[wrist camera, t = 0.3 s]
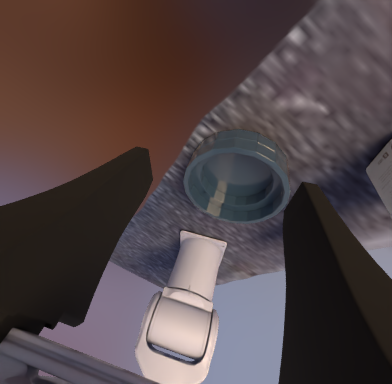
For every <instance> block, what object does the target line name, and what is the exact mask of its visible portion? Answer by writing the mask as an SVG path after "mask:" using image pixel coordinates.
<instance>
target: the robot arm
mask: <svg viewBox="0 0 392 384" xmlns="http://www.w3.org/2000/svg"><path fill="white" fill-rule="evenodd" d="M152 181H153V177H152V170H151V164H150V157H149V151H148V149H146V148H141V147H135V148H133V149H131V150H129V151H127V152H125V153H124V154H122V155H120V156H118V157H117V158H115V159H113V160H111V161H109V162H107V163H105V164H104V165H102V166H100V167H98V168H96V169H94V170H92V171H90V172H88V173H86V174H84V175H82V176H80V177H78V178H76V179H74V180H72V181H70V182H67V183H65V184H63V185H60V186H58V187H55V188H53V189H50V190H48V191H45V192H43V193H39V194H37V195H34V196H31V197H28V198H25V199H22V200H19V201H16V202H13V203H10V204H6V205H3V206H0V384H200V383H201V382H203V381H204V379H205V377H206V376H207V374H208V371H209V366H210V361H211V358H212V355H213V352H214V348H215V344H216V339H217V333H218V325H219V317H218V315H217V312H216V310H214V309H212V308H213V303H212V297H213V292H214V287H215V282H216V277H217V272H218V267H219V266H220V263H221V260H222V257H223V254H224V251H225V248H226V246H227V243H226V242H224V241H220V240H217V239H213V238H209V237H206V236H202V235H198V234H195V233H191V232H187V231H183V230H182V231H181V232H180V251H179V254H178V257H177V259H176V262H175V265H174V268H173V271H172V273H171V276H170V279H169V282H168V285H167V287H164V290H163V292H161V291H159V292H158V293H156V294H154V295H153V297H152V299H151V301H150V303H149V305H148V307H147V310H146V313H145V315H144V318H143V321H142V324H141V328H140V334H139V337H138V340H137V342H136V345H135V356H136V359H137V362H138V364H139V366H140V368H141V371H142V373H143V375H144V377H142V376H140V375H137V374H135V373H132V372H130V371H127V370H125V369H122V368H120V367H117V366H114V365H112V364H110V363H107V362H104V361H102V360H99V359H97V358H94V357H92V356H89V355H87V354H84V353H81V352H79V351H77V350H74V349H71V348H69V347H66V346H64V345H61V344H59V343H56V342H54V341H51V340H49V339H46V338H44V337H41V336H39V333H40V332H41V331H42V329H43V327H47V328H49V329H52V330H53V329H54V328H55V326H56V325H57V323H58V322H61V323H64V324H67V325H70V326H72V327H76V326H78V325H80V324H81V323H83V322H84V319H85V317H86V314H87V311H88V309H89V306H90V303H91V301H92V298H93V296H94V293H95V291H96V288H97V286H98V284H99V281H100V279H101V277H102V274H103V272H104V270H105V268H106V265H107V263H108V261H109V259H110V257H111V255H112V253H113V251H114V249H115V247H116V245H117V242H118V240H119V238H120V237H121V235H122V233H123V231H124V230H125V228H126V227H127V225H128V223H129V222H130V220H131V219H132V217H133V216H134V214H135V212H136V211H137V209H138V208H139V206H140V204H141V203H142V201H143V200H144V198H145V196H146V194H147V192H148V190H149V188H150V185H151V183H152ZM283 243H284V257H285V271H286V303H285V322H284V336H283V348H282V359H281V367H280V376H279V384H392V279H391V278H390V277H389V276H388V275H387V274H386V273H385V271H384V270H383V269H382V268H381V267H380V266H379V265H378V264H377V263H376V262H375V260H374V259H373V258H372V257H371V256H370V255H369V253H368V252H367V251H366V250H365V249H364V247H363V246H362V245H361V244H360V242H359V241H358V240H357V239H356V237H355V236H354V235H353V234H352V232H351V231H350V230H349V228H348V227H347V226H346V224H345V223H344V222H343V220H342V219H341V218H340V216H339V215H338V213H337V212H336V211H335V209H334V208H333V206H332V205H331V203H330V202H329V201H328V199H327V198H326V196H325V195H324V193H323V192H322V191H321V189H320V188H319V187H318V185H316V184H311V183H306V182H302V183H301V185H300V186H299V188H298V189H297V191H296V193H295V194H294V196H293V197H292V199H291V201H290V202H289V204H288V205H287V207H286V208H285V210H284V219H283ZM152 344H153V345H157V346H159V347H162V348H164V349H167V350H170V351H172V352H175V353H178V354H181V355H183V356H186V357H189V358H192V359H194V360H195V361H192V362H191V361H185V360H183V359H180V358H177V357H175V356H172V355H169V354H166V353H164V352H161V351H159V350H156V349H155V348H154V347H153V346H152ZM39 370H41V371H44V372H46V373H48V374H51V375H53V376H56V377H58V378H56V377H49V376H39V375H38V372H39Z"/></svg>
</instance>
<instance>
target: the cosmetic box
mask: <svg viewBox="0 0 392 384" xmlns="http://www.w3.org/2000/svg"><path fill="white" fill-rule="evenodd" d="M366 173H367V174H368V176H369V178H370V180H371V182H372V184H373V185H374V187H375V189H376V191H377V193H378V194H379V196H380V198H381V200H382V201H383V203H384V205H385V207H386V209H387V210H388V212H389V214H390V216H391V218H392V139H391V140H390V141H389V142H388V143H387V144H386V145H385V147H384V148H383V149H382V150H381V151H380V153H379V154H378V155H377V156H376V157H375V158H374V160H373V161H372V162H371V163H370V165H369V166H368V167H367V168H366Z"/></svg>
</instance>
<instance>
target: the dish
mask: <svg viewBox="0 0 392 384" xmlns="http://www.w3.org/2000/svg"><path fill="white" fill-rule="evenodd" d="M183 183H184V187H185V192H186V194H187V196H188V197H189V199H190V200H191V202H192V203H193V204H194V205H195V206H196V207H197V208H198V209H200V210H201V211H202V212H203V213H205V214H207V215H209V216H211V217H213V218H215V219H217V220H221V221H225V222H229V223H235V224H251V223H257V222H263V221H265V220H267V219H269V218H271V217H274V216H276V215H277V214H278V213H279V212H280V211H281V210H282V209H283V208H284V207H285V206H286V205H287V202H288V199H289V196H290V193H291V187H290V174H289V167H288V163H287V158H286V155H285V154H284V153H283V152H282V150H281V149H280V148H279V147H278V145H277V144H276V143H275V142H274V141H272V140H270V139H268V138H267V137H265V136H263V135H261V134H260V133H257V132H252V131H246V130H241V129H236V130H228V131H221V132H218V133H216V134H214V135H212V136H210V137H208V138H206V139H204V140H203V141H202V143H201V144H200V145H199V146H198V147H197V149H196V150H195V151H194V153H193V155H192V157H191V160H190V162H189V164H188V166H187V168H186V171H185V175H184V179H183Z"/></svg>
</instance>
